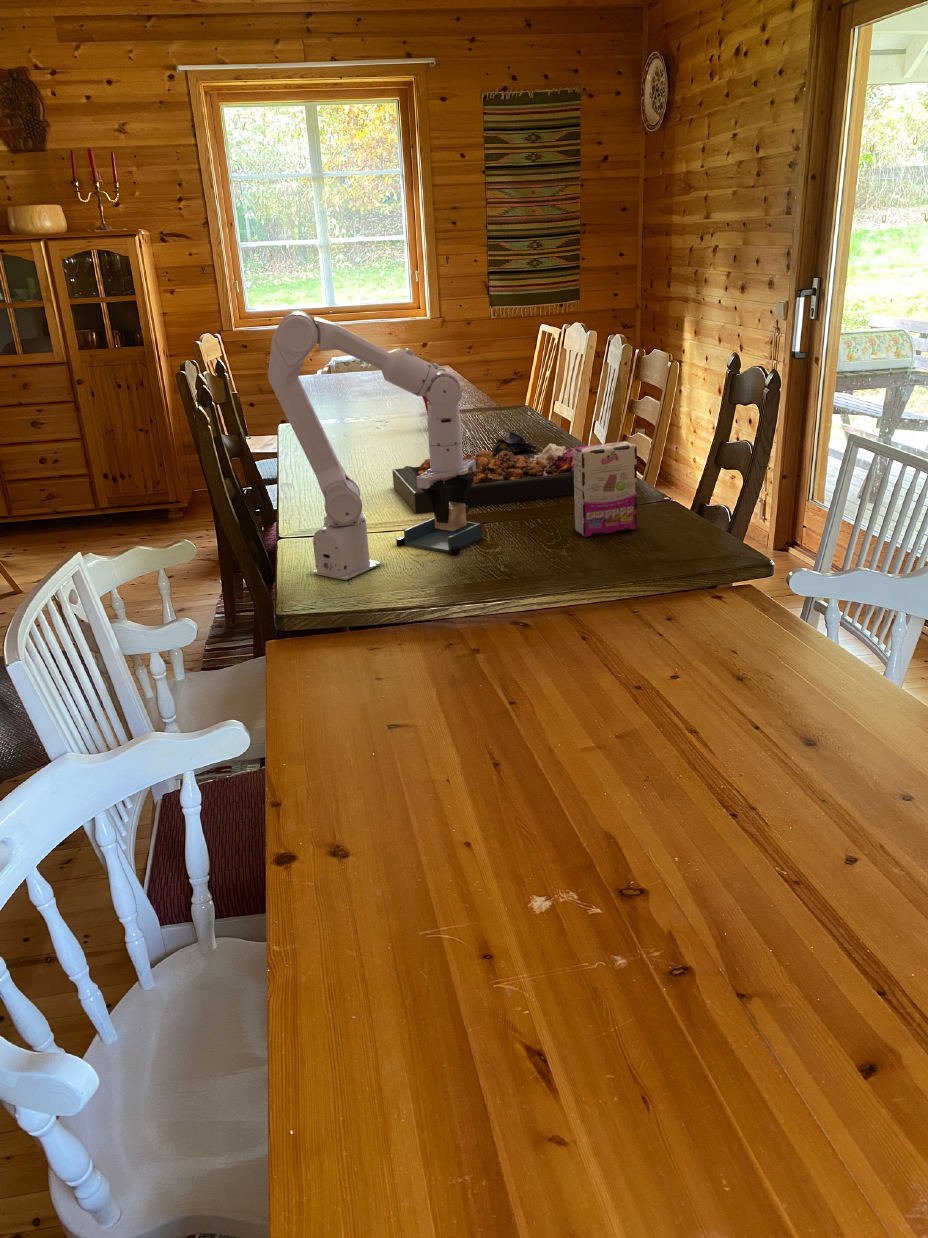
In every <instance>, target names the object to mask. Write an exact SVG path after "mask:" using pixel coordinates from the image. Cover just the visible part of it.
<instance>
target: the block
mask: <svg viewBox="0 0 928 1238" xmlns="http://www.w3.org/2000/svg"><path fill="white" fill-rule="evenodd" d="M434 517H435V514H434V513H433V518H434ZM466 521H467V514H466V511H465V504H464V503H457V502H449V519H448V523H439V522H437V520H436V517H435V528H437V529H443V530H450V531H454V530H457V529H459V528H461V527H463V526H466Z"/></svg>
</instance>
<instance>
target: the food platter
mask: <svg viewBox="0 0 928 1238" xmlns="http://www.w3.org/2000/svg"><path fill="white" fill-rule="evenodd" d="M577 447H578V444H576V445H575V447H573V448H577ZM573 448H568V449H567V448H566V447H565V445H563V446H558V445H556V443H549V444H548V445H547V446H546V447H545V448H543V450H542V452H537V453H527V454H519V455H514V452H508V451H502V452H501V453H497V455H495V456H493V455H492V452H491V450H486V449H483V450H481V451H479V452H477V453H475V456H473V455H472V454H469V453H467V454H466V455H465V456H463V460H466V459H469V460H475V461H476V471H473V472H471V471H469V472H468V473H467V475H473V476H474V482H473V483H472V485H471V487H470V490H469V492H468V496H467V499H466V504H465V505H466V506H469V508H476V507H482V506H492V505H498V504H507V503H514V502H524V501H531V500H539V499H547V498H554V497H555V498H557V497H564V496H565V497H566V496H571V495H572V496H573V495H574V456H573ZM430 468H431V467H430V458H426V459H425V460H424V461H423V462H422V463H421V464H420V465H419V466H411V465H410V466H409V465H405V466H404V467H402V468H393V469H392V470H391V472H392V486H393V489H394V491H396V493H397V494H398V496H400V497H401V498H402V500H403V501H404V502H405V503H406V504H407V506H409V508H410V509H411V511H413V513H414V514H416V515H418V514H425V513H434V511H433V508H432V506H431V503H430V501H429V499H428V497H427V496H426V494H425V493H424V491H423V490H422V488H418V487H417V476H420V475H422V474H423V473H425V472H426V471H427V470H429V469H430ZM443 482H444V481H443ZM444 483H445V482H444Z"/></svg>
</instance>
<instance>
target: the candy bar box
mask: <svg viewBox="0 0 928 1238" xmlns="http://www.w3.org/2000/svg"><path fill="white" fill-rule="evenodd" d="M573 456H574V494H573V495H574V496H573V498H574V530H575V532H576V533H578V534H580V536H583V537H584V538H585V537H586V538H587V537H593V536H600V535H601V536H602V535H606V534H614V533H620V532H626V531H633V530H637V527H638V526H637V523H638V521H637V520H638V519H637V517H638V515H637V511H638V510H637V508H638V506H637V502H638V501H637V500H638V497H637V495H638V494H637V493H638V491H637V490H638V487H637V486H638V484H637V483H638V445H637V444H635V443H632V442H630V441H628V440H626V441H625V440H624V441H616V442H608V443H602V444H593V445H585V446H577V447H576V448H575V447H573Z"/></svg>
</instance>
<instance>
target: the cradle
mask: <svg viewBox="0 0 928 1238" xmlns="http://www.w3.org/2000/svg"><path fill="white" fill-rule="evenodd" d="M395 540H396V541H395V542H396V547H403V546H405V539H404V536H400V537H398V538H396V539H395ZM450 549H451V553H450V556H453V557H456V556H458V555H460V554H461V549H460V547H459V546H454V547H452V548H450Z"/></svg>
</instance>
